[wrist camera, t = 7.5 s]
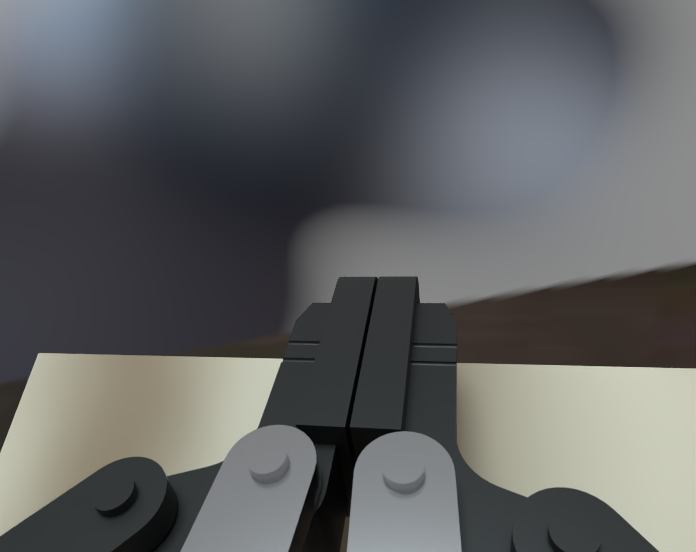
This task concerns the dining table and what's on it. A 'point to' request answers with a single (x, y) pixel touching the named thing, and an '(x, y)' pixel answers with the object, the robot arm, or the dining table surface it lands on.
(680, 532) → the board
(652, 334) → the dining table surface
